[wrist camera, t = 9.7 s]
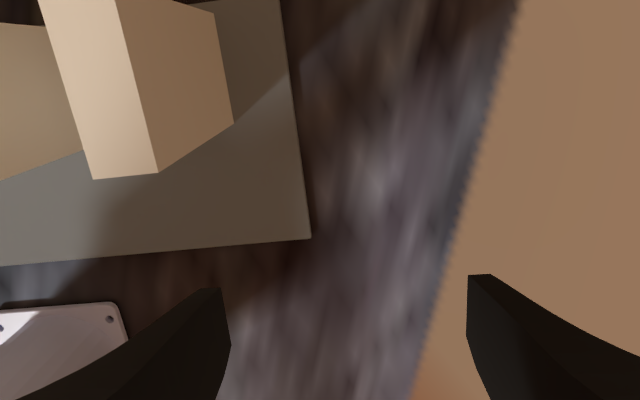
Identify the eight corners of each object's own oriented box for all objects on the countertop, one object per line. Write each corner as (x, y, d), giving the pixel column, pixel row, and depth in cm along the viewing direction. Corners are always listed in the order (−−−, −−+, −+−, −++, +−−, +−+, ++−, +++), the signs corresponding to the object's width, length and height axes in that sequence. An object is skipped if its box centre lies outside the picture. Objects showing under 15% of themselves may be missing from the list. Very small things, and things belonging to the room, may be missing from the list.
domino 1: (88, 30, 19) (-108, 13, 11) (118, 136, 21) (-33, 193, 13) (48, 36, 20) (-176, 23, 11) (80, 141, 21) (-94, 199, 13)
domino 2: (213, 13, 19) (110, -20, 10) (234, 123, 21) (158, 172, 12) (171, 19, 19) (35, -9, 11) (194, 128, 21) (92, 179, 12)
